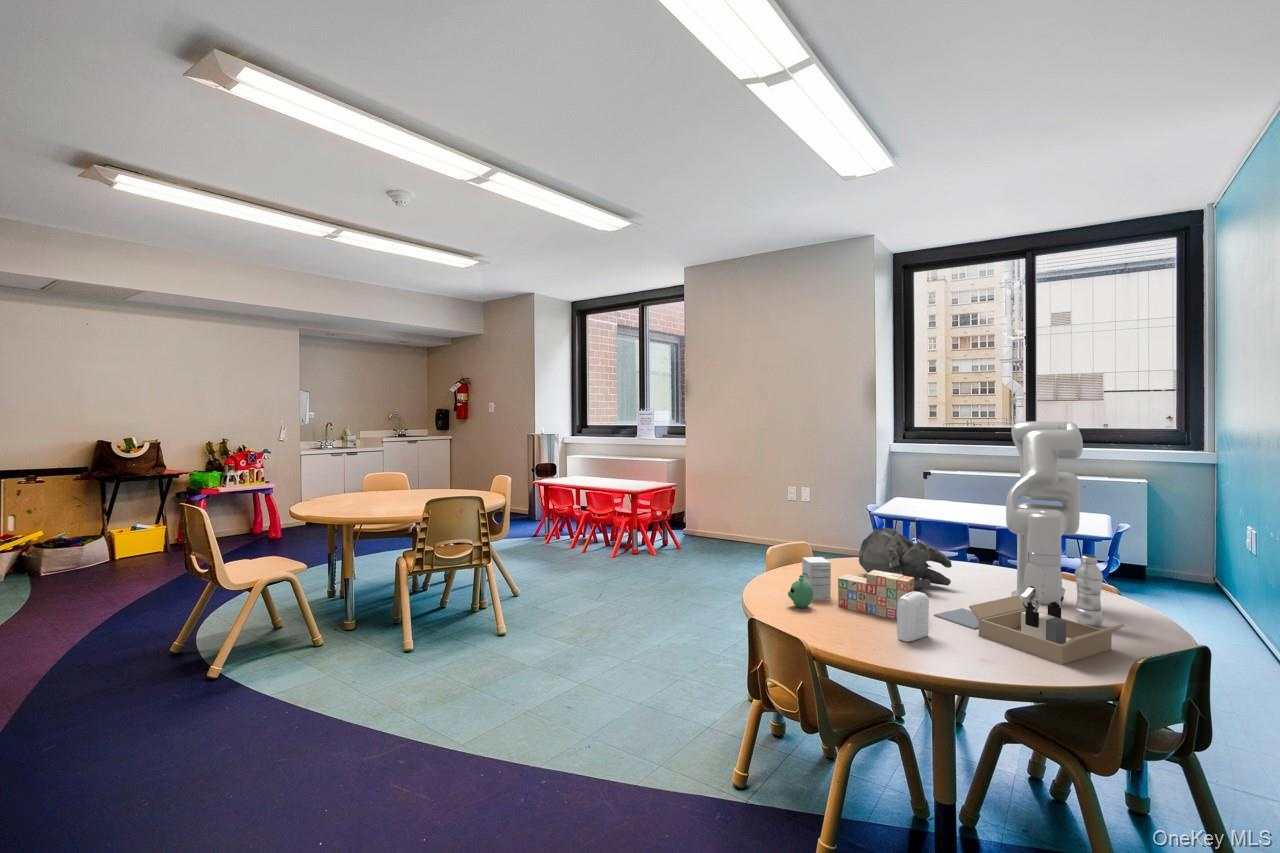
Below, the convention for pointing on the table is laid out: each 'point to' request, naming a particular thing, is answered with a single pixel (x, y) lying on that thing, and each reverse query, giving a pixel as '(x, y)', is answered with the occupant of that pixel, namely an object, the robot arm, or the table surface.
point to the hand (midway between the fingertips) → (1043, 623)
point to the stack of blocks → (874, 592)
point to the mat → (960, 617)
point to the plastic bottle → (1088, 592)
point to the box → (1046, 628)
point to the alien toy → (801, 593)
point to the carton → (1007, 615)
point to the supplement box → (817, 576)
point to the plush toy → (902, 558)
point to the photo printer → (912, 616)
